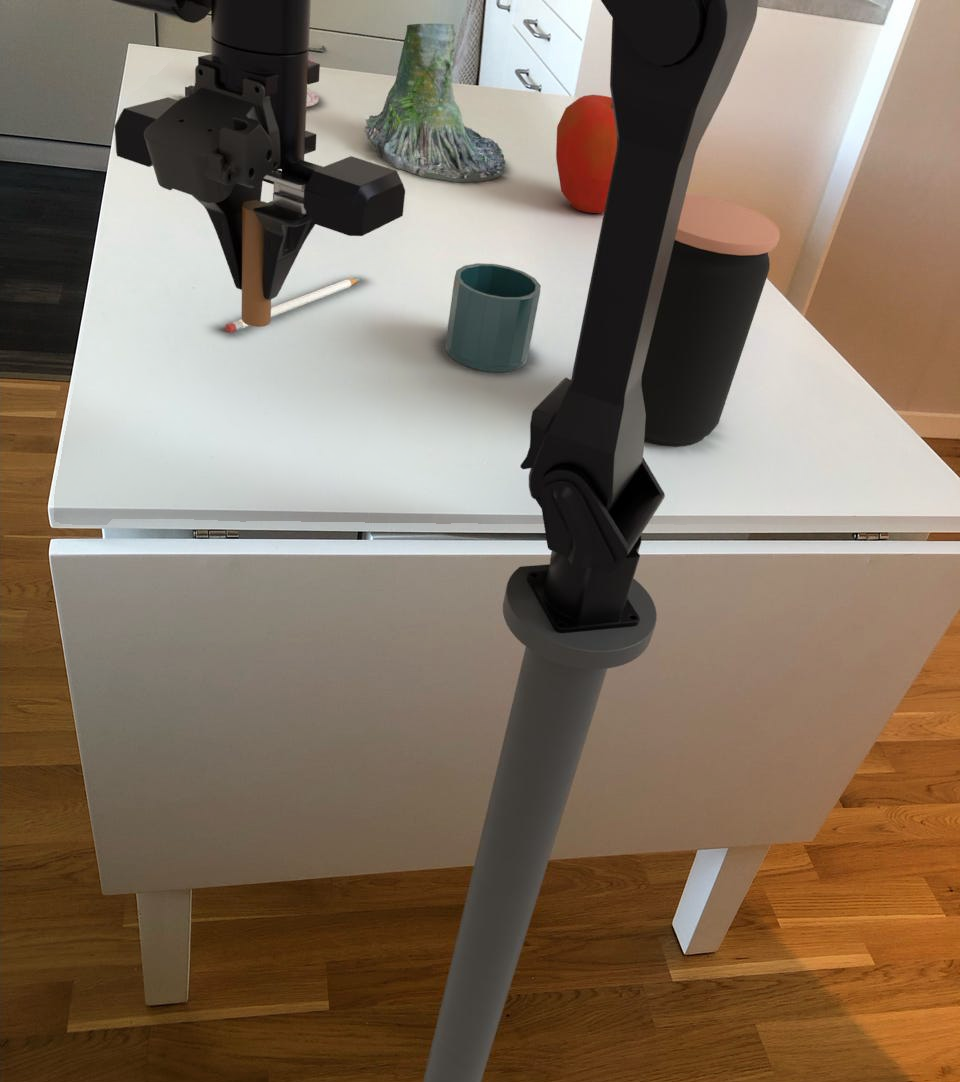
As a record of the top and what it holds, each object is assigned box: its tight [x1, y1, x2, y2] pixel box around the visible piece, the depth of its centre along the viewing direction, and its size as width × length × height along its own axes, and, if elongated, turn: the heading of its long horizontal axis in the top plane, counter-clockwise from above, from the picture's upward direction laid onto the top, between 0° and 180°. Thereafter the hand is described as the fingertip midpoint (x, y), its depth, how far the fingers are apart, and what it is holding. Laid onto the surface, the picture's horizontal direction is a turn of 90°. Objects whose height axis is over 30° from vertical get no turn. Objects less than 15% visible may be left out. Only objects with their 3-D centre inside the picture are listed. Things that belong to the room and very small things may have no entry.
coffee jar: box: [641, 193, 781, 447], centre depth 91 cm, size 11×11×18 cm
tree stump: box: [364, 22, 506, 183], centre depth 141 cm, size 18×20×18 cm
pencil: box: [224, 278, 360, 334], centre depth 103 cm, size 1×19×1 cm, turn 146°
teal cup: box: [445, 262, 542, 373], centre depth 99 cm, size 8×8×7 cm
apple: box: [555, 94, 617, 214], centre depth 133 cm, size 12×12×14 cm
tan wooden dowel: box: [241, 200, 272, 328], centre depth 73 cm, size 2×2×8 cm
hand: (256, 292), depth 74 cm, fingers closed on tan wooden dowel, 2 cm apart
